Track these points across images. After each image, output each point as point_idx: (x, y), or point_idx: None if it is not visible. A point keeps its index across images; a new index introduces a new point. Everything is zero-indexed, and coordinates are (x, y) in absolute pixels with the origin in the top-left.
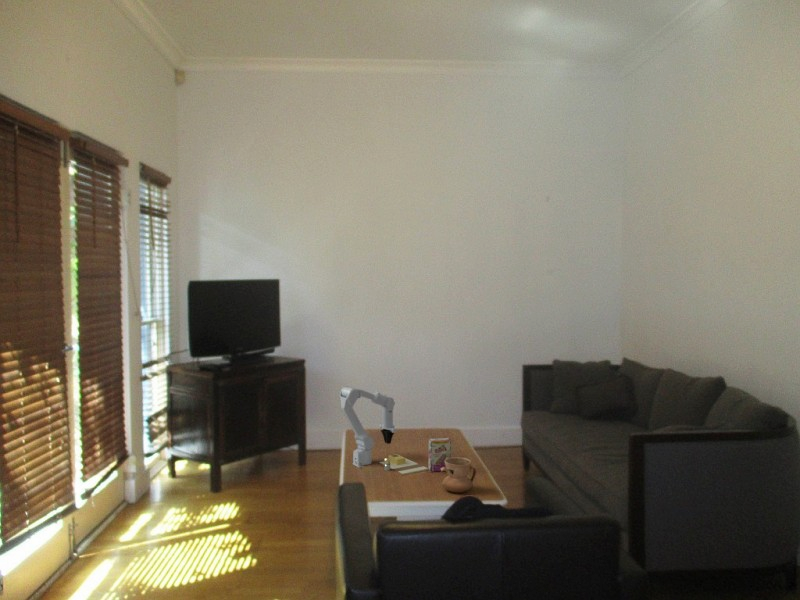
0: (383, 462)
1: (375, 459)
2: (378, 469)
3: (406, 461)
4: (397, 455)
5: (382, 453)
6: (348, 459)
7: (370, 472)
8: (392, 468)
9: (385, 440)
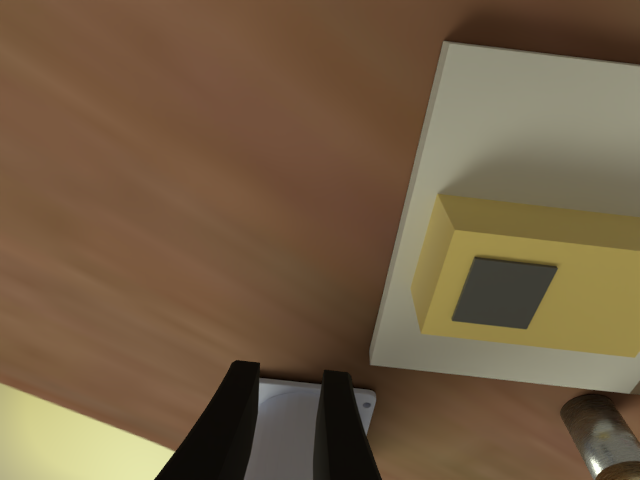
0: (410, 346)
1: (219, 297)
2: (483, 419)
3: (611, 149)
4: (528, 269)
5: (13, 100)
6: (108, 422)
7: (487, 474)
8: (617, 388)
9: (245, 458)
